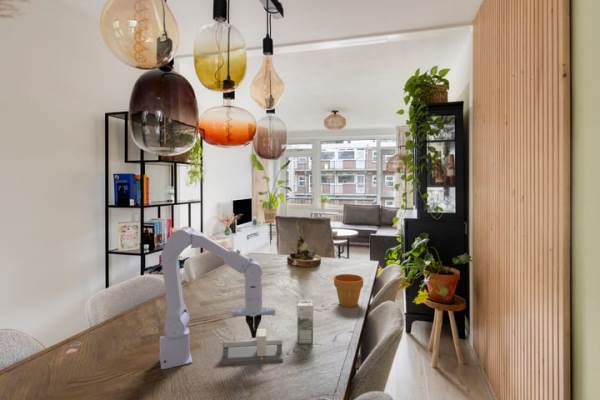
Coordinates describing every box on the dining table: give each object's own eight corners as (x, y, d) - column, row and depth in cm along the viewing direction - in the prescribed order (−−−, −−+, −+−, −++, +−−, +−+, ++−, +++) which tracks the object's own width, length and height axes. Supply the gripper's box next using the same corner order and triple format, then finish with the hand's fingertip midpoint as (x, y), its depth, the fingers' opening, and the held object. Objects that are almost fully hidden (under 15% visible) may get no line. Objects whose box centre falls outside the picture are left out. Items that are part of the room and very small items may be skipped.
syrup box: (312, 337, 126) (312, 299, 126) (313, 344, 120) (313, 305, 120) (297, 337, 126) (297, 299, 125) (297, 344, 120) (297, 305, 119)
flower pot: (363, 310, 153) (363, 282, 153) (332, 308, 156) (332, 281, 156) (363, 300, 167) (363, 274, 167) (335, 298, 170) (335, 273, 170)
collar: (256, 356, 109) (256, 336, 109) (257, 347, 115) (257, 328, 115) (265, 355, 109) (265, 336, 109) (266, 347, 115) (265, 328, 115)
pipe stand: (221, 365, 106) (220, 348, 106) (224, 351, 115) (224, 335, 115) (283, 361, 108) (282, 344, 108) (281, 348, 117) (281, 332, 117)
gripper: (230, 301, 106) (230, 343, 107) (275, 300, 108) (275, 341, 108) (232, 294, 113) (233, 333, 114) (274, 293, 115) (275, 331, 115)
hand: (253, 336), depth 112 cm, fingers closed
